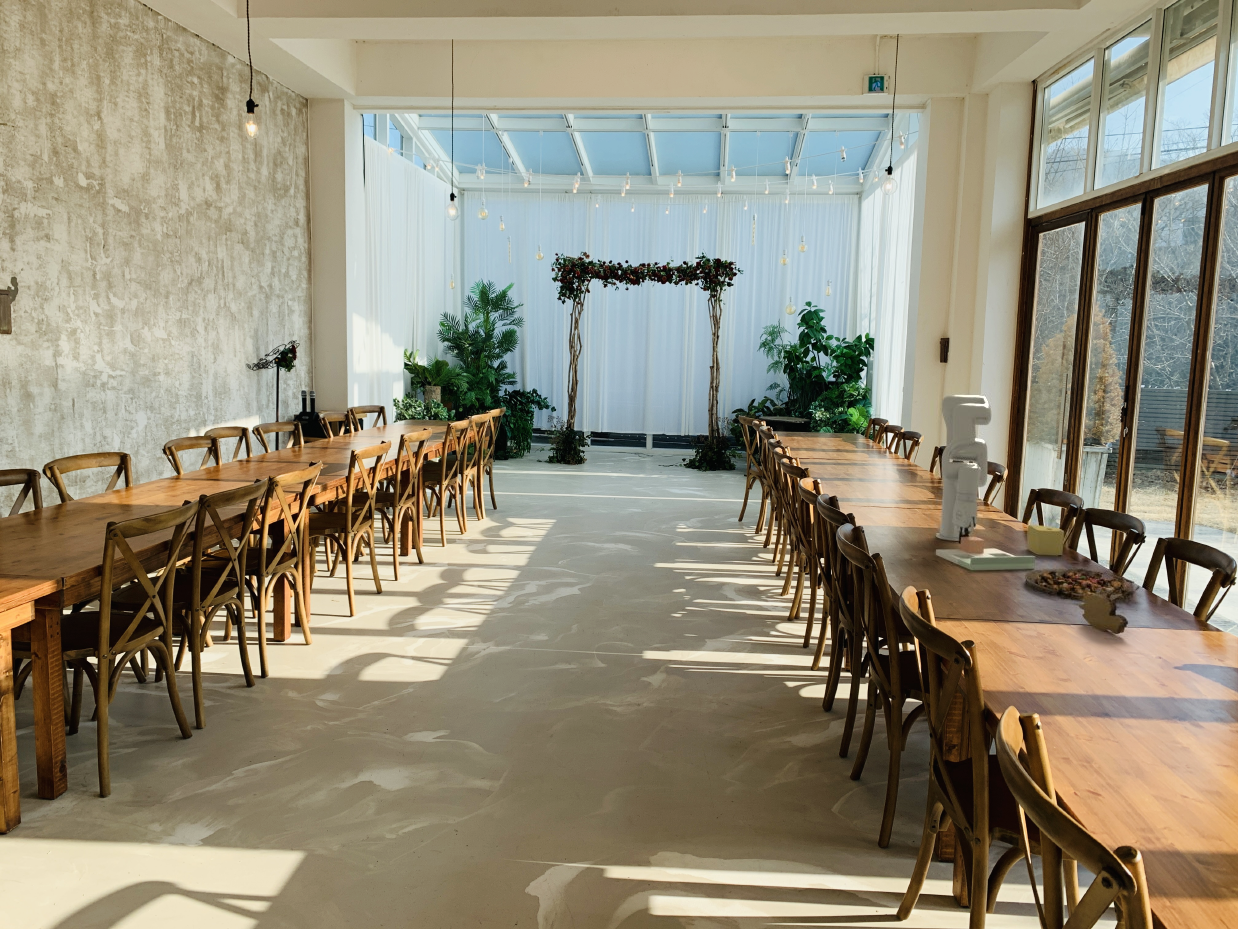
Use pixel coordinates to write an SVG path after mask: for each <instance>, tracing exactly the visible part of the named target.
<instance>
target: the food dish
mask: <svg viewBox="0 0 1238 929" xmlns="http://www.w3.org/2000/svg"><path fill="white" fill-rule="evenodd" d="M1103 575H1106V573H1105V572H1103V571H1101V572H1100V571H1096V570H1090V569H1089V570H1087V569H1084V568H1078V567H1077V568H1045V569H1036V570H1034V569H1033V570H1030V571H1028V572H1026V574H1025V575H1024V580H1025V583H1026V585H1028V586H1029V587H1030V588H1031V589H1034V590H1035V591H1036V592H1038V593H1042V594H1045V595H1049V596H1053V597H1059V598H1060V599H1063V600H1064V599H1065V600H1073V601H1080V602H1081V601H1082V602H1085V601H1084V597H1085V595H1086V594H1093V595H1094V594H1101V595H1105V596H1106V597H1108V598H1109V599H1110V600H1111V601H1114V602H1115V604H1116V605H1117V604H1121V603H1126V604H1127V603H1128V602H1129V601H1132V600H1133V599H1132V598H1133V595H1134V594H1135V592H1136V591H1138V590H1139V589H1140V586H1139V585H1138V586H1136V588H1135V589H1134V590H1130V589H1128V586H1129V585H1128V584H1127V583H1131V584H1134V583H1135V580H1130V579H1128V578H1123V577H1121V576H1118V575H1113V574H1110V573H1109V574H1108V576H1111V577H1114V578H1111V579H1109V578H1104V577H1103ZM1102 577H1103V578H1102ZM1121 580H1124V581H1125V582H1127V583H1121V582H1120V581H1121Z"/></svg>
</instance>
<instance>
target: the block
mask: <svg viewBox="0 0 1238 929" xmlns="http://www.w3.org/2000/svg"><path fill="white" fill-rule="evenodd" d="M959 549H960V550H962V551H964V552H967V553H984V549H985V539H982V538H980V537H977V536H969V537H961V544H960V548H959Z"/></svg>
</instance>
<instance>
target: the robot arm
mask: <svg viewBox="0 0 1238 929" xmlns="http://www.w3.org/2000/svg"><path fill="white" fill-rule="evenodd" d="M941 414H942V417H943V420H944V423H945V424H944V425H945V426H946V439H945V441H946V445H945V448H944V450H943V453H942V456H941V477H942V478H941V479H942V501H941V516H940V517H941V519H940V525H939V526H937V529H938V530H939V532H937V533H935V537H936V538H938V539H940V540H944V541H950V542H953V541H954V542H958V544H960V545H961V537H970V535H971V532H974V531H975V529H974V528H976V527H977V524H978V503H977V502H978V494H979V493H978V491H979V488H983V487H985V486H986V485H987V482H988V445H987V442H986V441H985V440H983V439H981V438H977V436H976V435H977V432H976V431H977V430H976V426H988V425H989V424H990V423H991V421H992V410H991V406H990V403H989V401H988V399H987V397H985V396H983V395H968V394H966V395H965V394H951V395H946V396H945V397H944V398H942V402H941ZM950 460H951V461H950Z"/></svg>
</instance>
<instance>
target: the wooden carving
mask: <svg viewBox="0 0 1238 929" xmlns="http://www.w3.org/2000/svg"><path fill="white" fill-rule="evenodd" d="M1083 602H1084V603H1083V604H1079V605H1078V608H1079V609H1080V610H1083V614H1082V615H1081V616H1082V618H1083V619H1084V620H1085V621H1086V623H1088V625H1090V626H1091V627H1092V628H1094V629H1096V630H1098V631H1101V632H1102V631H1103V632H1104V631H1105V632H1106V631H1110V632H1111V633H1112V634H1115V635H1118V634H1123V633H1124V632H1125V628H1126V627H1127V625H1128V624H1129V621H1128V620H1127V618H1126V617H1125V616H1123V615H1121V614H1117V603H1116V604H1115V602H1114V601H1111V600H1110V599H1109V598H1108V597H1106V596H1105V595H1101V594H1094V595H1093V594H1086V595H1085V597H1084V601H1083Z"/></svg>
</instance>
